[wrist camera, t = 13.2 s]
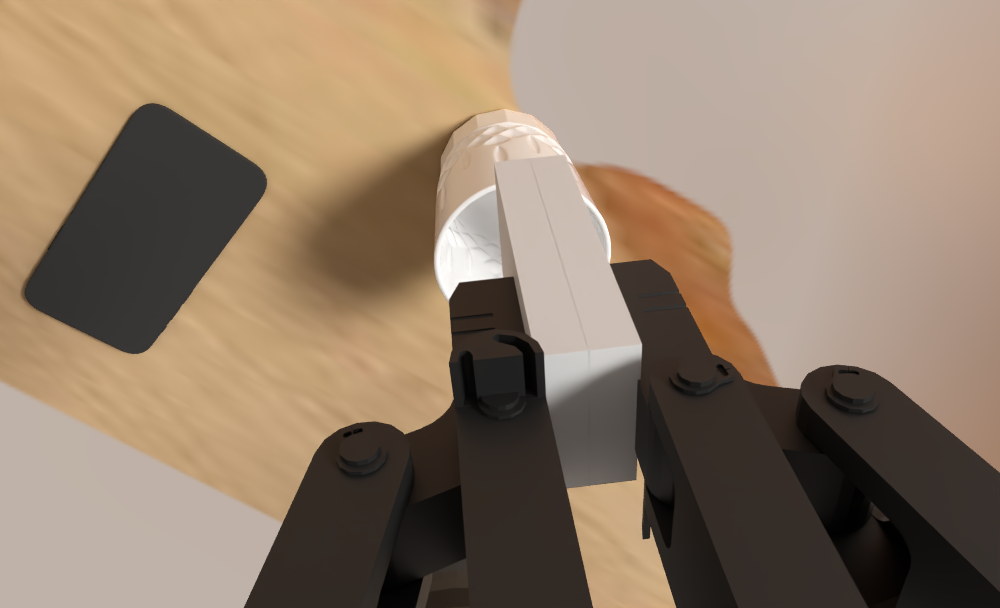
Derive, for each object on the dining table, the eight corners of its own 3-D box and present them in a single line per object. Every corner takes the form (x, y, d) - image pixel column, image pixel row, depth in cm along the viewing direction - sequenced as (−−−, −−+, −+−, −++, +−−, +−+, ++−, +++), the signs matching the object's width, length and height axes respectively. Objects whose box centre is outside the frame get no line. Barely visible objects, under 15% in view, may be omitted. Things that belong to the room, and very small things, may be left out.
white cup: (416, 216, 44) (417, 318, 36) (447, 82, 40) (456, 162, 31) (548, 241, 46) (579, 344, 37) (591, 115, 41) (636, 199, 33)
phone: (276, 180, 41) (141, 361, 47) (278, 174, 42) (145, 352, 48) (143, 95, 38) (16, 300, 44) (148, 90, 39) (22, 291, 44)
